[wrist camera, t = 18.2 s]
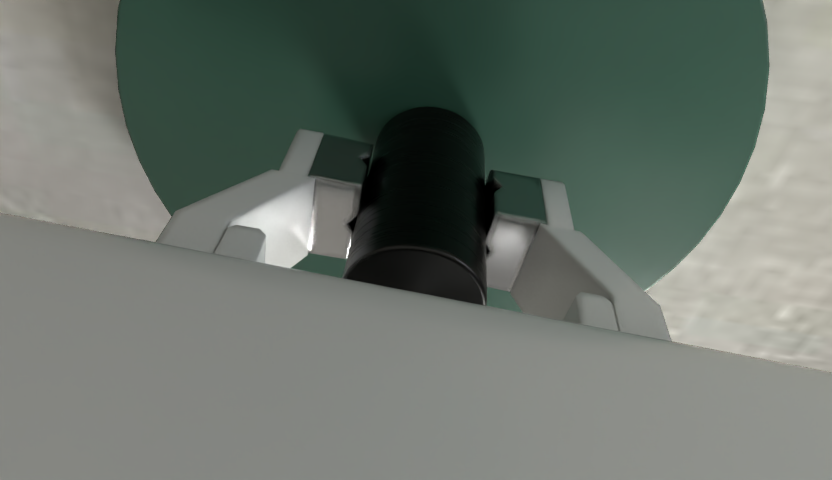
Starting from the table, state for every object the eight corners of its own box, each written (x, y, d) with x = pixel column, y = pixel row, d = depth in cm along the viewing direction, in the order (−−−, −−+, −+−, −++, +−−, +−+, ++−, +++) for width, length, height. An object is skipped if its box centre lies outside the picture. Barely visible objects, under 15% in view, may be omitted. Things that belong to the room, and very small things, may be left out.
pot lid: (598, 357, 19) (634, 542, 14) (166, 276, 18) (67, 446, 13) (913, -139, 10) (1250, -46, 6) (89, -346, 9) (-267, -428, 5)
